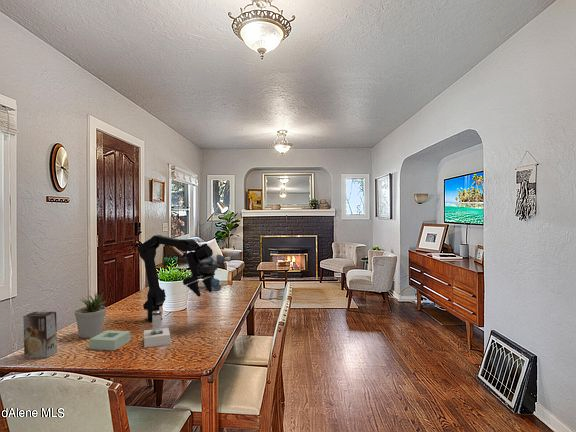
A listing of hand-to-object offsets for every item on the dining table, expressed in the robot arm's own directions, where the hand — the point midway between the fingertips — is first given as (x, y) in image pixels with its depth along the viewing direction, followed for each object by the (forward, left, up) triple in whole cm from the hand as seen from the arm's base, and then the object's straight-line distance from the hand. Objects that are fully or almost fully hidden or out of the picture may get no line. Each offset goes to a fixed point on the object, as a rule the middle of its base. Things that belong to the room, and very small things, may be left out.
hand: (205, 294), depth 170 cm
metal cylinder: (+1, -25, -16) cm, 30 cm away
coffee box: (-21, -61, -16) cm, 67 cm away
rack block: (-11, -39, -16) cm, 44 cm away
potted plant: (-29, -40, -16) cm, 53 cm away
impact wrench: (-60, +54, -16) cm, 82 cm away
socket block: (+1, -25, -16) cm, 30 cm away
